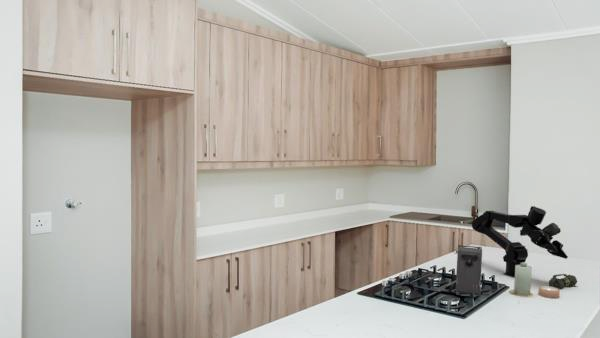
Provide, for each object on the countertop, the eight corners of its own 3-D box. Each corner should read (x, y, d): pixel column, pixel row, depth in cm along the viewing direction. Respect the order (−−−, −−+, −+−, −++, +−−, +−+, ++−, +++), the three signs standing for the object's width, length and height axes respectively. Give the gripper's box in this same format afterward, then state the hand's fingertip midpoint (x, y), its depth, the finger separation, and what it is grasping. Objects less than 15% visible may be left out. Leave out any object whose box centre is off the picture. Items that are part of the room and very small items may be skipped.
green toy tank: (577, 286, 224) (556, 292, 213) (566, 283, 228) (544, 289, 217) (578, 272, 223) (557, 277, 213) (567, 269, 227) (545, 274, 217)
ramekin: (534, 294, 206) (534, 287, 206) (544, 292, 210) (544, 284, 210) (553, 300, 200) (553, 292, 200) (563, 297, 204) (563, 289, 204)
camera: (479, 297, 214) (481, 249, 218) (480, 298, 198) (482, 246, 202) (452, 294, 217) (454, 247, 221) (450, 295, 202) (453, 243, 206)
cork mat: (504, 292, 208) (504, 291, 208) (516, 289, 213) (516, 288, 213) (525, 298, 200) (525, 297, 200) (537, 295, 206) (537, 294, 206)
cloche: (510, 292, 207) (512, 262, 206) (519, 290, 211) (520, 261, 210) (524, 296, 202) (526, 266, 201) (533, 294, 206) (534, 264, 205)
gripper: (536, 212, 221) (564, 232, 208) (557, 226, 231) (585, 246, 218) (519, 231, 223) (546, 253, 210) (540, 244, 233) (567, 266, 221)
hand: (561, 254), depth 215 cm, fingers open, 9 cm apart
